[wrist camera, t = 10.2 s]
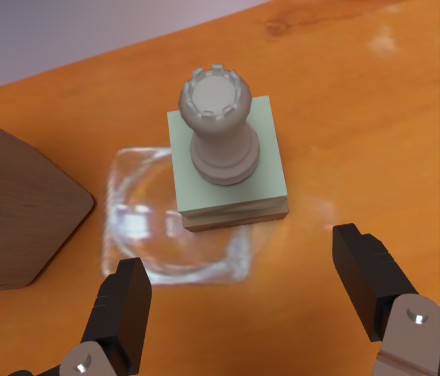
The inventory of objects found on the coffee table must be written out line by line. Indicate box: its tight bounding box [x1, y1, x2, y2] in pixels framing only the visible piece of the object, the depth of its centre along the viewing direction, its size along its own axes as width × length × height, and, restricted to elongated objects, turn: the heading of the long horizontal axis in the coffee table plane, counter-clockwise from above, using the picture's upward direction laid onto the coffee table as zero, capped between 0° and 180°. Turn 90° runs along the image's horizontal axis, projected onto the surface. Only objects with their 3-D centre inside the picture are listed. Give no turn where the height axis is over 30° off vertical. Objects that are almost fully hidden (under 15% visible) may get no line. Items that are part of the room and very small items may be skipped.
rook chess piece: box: [178, 63, 260, 185], centre depth 17 cm, size 4×4×8 cm
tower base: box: [167, 95, 289, 232], centre depth 25 cm, size 8×8×8 cm
